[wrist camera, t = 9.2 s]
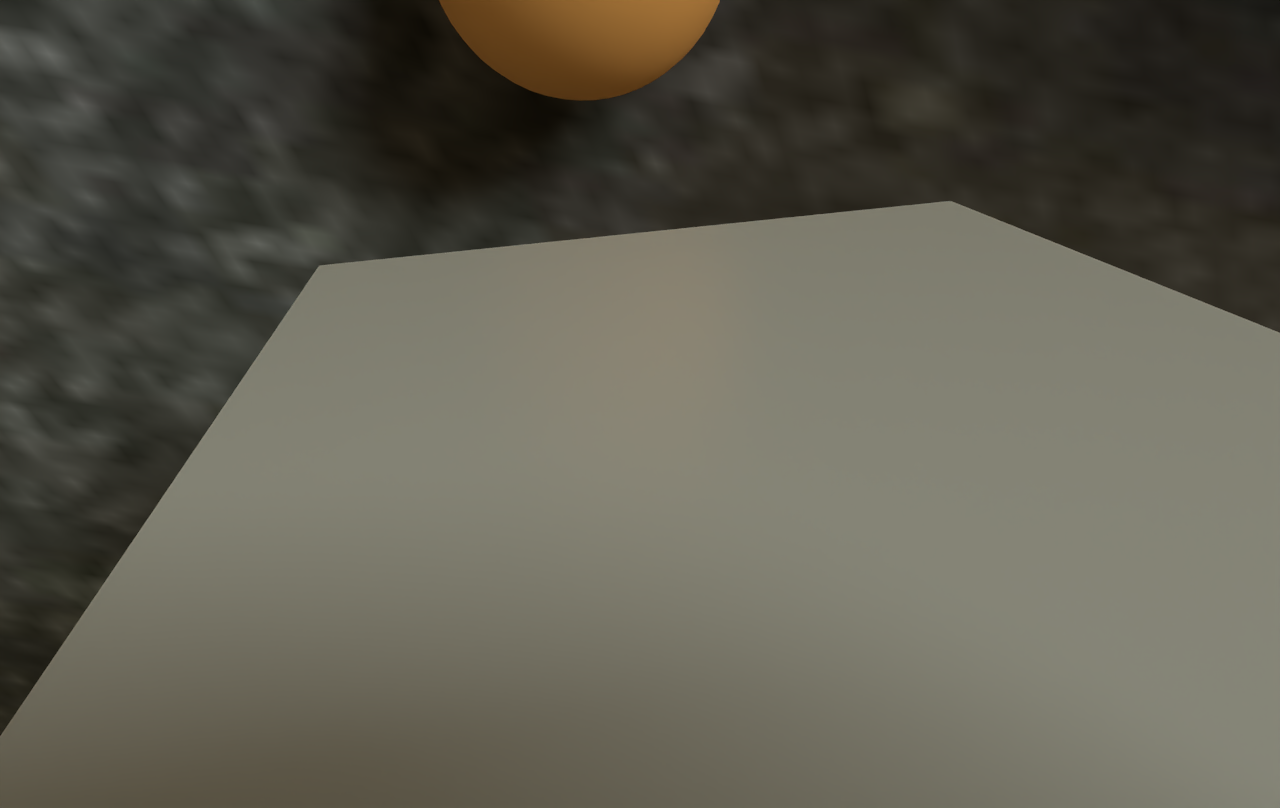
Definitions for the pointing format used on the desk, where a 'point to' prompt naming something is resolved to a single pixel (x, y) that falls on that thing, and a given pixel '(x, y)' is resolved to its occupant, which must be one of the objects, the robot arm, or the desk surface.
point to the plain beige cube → (703, 540)
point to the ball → (580, 41)
